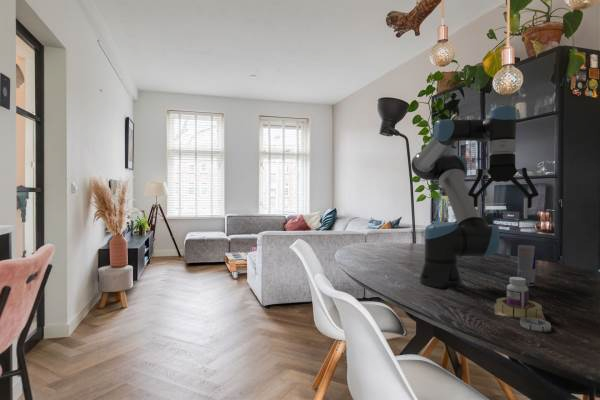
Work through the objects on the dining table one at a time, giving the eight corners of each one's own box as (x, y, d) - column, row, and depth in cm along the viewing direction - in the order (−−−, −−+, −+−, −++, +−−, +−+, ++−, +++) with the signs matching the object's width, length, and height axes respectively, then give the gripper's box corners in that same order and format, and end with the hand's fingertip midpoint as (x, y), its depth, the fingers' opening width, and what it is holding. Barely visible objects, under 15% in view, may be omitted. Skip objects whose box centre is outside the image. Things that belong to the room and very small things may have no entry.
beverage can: (537, 287, 131) (538, 247, 131) (521, 286, 132) (521, 246, 132) (531, 283, 137) (531, 244, 136) (515, 282, 138) (515, 244, 137)
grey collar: (521, 331, 89) (521, 323, 89) (519, 323, 95) (519, 315, 95) (552, 336, 86) (552, 328, 86) (548, 327, 92) (548, 320, 92)
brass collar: (496, 314, 99) (496, 305, 99) (496, 303, 109) (496, 295, 109) (544, 321, 94) (544, 311, 94) (538, 309, 104) (539, 300, 104)
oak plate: (494, 317, 100) (494, 314, 100) (494, 306, 109) (494, 303, 109) (546, 324, 94) (546, 321, 94) (540, 312, 104) (541, 309, 104)
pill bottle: (520, 308, 104) (520, 276, 104) (533, 314, 99) (533, 280, 99) (502, 308, 104) (502, 276, 104) (514, 315, 99) (514, 280, 99)
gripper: (460, 154, 120) (459, 217, 120) (549, 150, 108) (548, 219, 109) (461, 156, 127) (461, 215, 127) (546, 153, 115) (545, 218, 115)
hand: (501, 217), depth 118 cm, fingers open, 13 cm apart
